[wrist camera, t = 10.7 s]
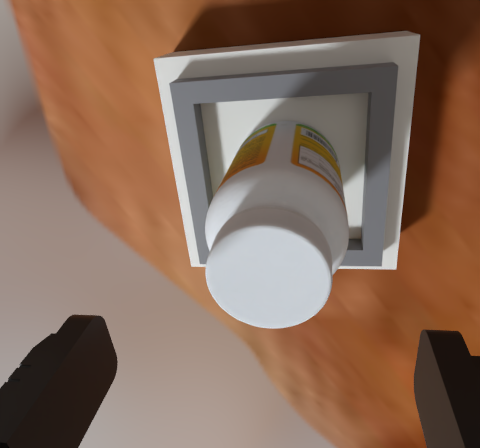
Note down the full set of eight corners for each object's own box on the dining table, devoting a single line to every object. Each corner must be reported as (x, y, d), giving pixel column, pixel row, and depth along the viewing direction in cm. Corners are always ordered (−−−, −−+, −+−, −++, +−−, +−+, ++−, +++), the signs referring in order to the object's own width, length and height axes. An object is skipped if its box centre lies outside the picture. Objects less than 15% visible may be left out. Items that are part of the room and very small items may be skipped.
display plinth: (172, 51, 22) (144, 61, 18) (406, 30, 20) (427, 36, 16) (203, 241, 27) (186, 277, 24) (387, 242, 25) (400, 282, 22)
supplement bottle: (236, 213, 23) (188, 337, 14) (233, 117, 20) (174, 197, 12) (334, 219, 22) (346, 355, 13) (345, 119, 19) (368, 209, 11)
